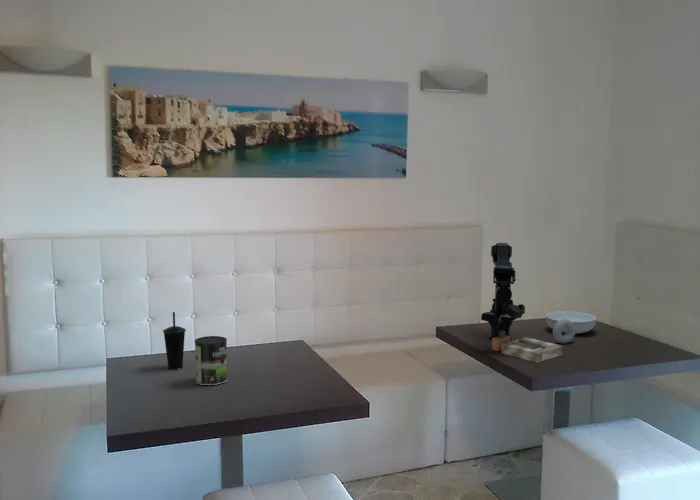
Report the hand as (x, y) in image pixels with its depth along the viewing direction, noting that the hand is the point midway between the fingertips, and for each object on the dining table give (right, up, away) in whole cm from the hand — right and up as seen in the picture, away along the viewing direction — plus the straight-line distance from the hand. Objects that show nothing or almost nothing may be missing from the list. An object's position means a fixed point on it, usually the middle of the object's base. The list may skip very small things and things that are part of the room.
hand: (501, 336), depth 257 cm
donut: (+27, -4, +9) cm, 29 cm away
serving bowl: (+36, -2, +28) cm, 45 cm away
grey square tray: (+10, -6, -7) cm, 13 cm away
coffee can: (-105, -10, -39) cm, 112 cm away
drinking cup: (-120, -8, -25) cm, 123 cm away
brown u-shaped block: (0, -5, +1) cm, 5 cm away
